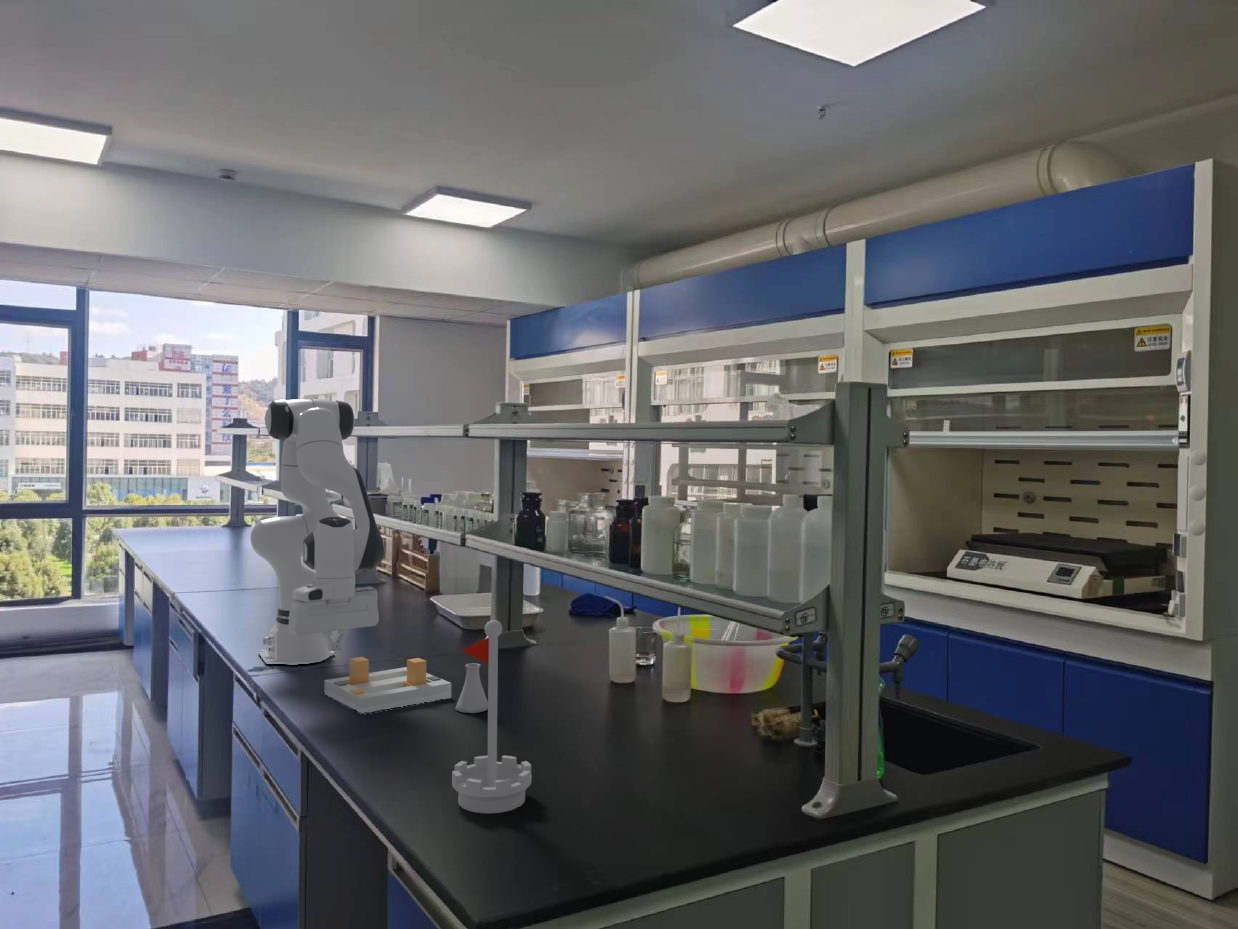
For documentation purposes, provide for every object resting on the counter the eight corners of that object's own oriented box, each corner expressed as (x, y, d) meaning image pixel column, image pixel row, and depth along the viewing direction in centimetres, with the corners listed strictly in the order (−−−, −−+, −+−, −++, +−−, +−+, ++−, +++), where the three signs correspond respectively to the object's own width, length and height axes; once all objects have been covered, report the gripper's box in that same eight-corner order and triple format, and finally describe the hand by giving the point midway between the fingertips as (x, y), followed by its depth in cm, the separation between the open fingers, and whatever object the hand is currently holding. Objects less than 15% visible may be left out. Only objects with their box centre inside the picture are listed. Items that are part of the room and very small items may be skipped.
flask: (470, 703, 210) (470, 659, 210) (495, 708, 206) (496, 663, 206) (449, 710, 204) (449, 665, 204) (474, 716, 200) (475, 670, 200)
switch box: (324, 695, 215) (324, 678, 215) (410, 680, 229) (410, 665, 229) (361, 714, 200) (361, 697, 200) (451, 697, 214) (451, 681, 214)
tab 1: (347, 687, 215) (347, 658, 215) (363, 684, 218) (363, 656, 217) (354, 690, 212) (354, 661, 212) (370, 688, 215) (370, 659, 215)
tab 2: (404, 688, 215) (404, 659, 215) (420, 685, 217) (420, 657, 217) (412, 692, 212) (412, 663, 212) (428, 689, 214) (428, 660, 214)
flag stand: (533, 785, 160) (535, 613, 159) (528, 816, 147) (530, 628, 146) (457, 785, 160) (459, 612, 159) (446, 816, 147) (447, 627, 146)
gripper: (371, 583, 219) (371, 641, 220) (285, 591, 206) (285, 653, 206) (383, 586, 215) (383, 646, 215) (296, 594, 201) (296, 658, 201)
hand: (335, 649), depth 210 cm, fingers closed
